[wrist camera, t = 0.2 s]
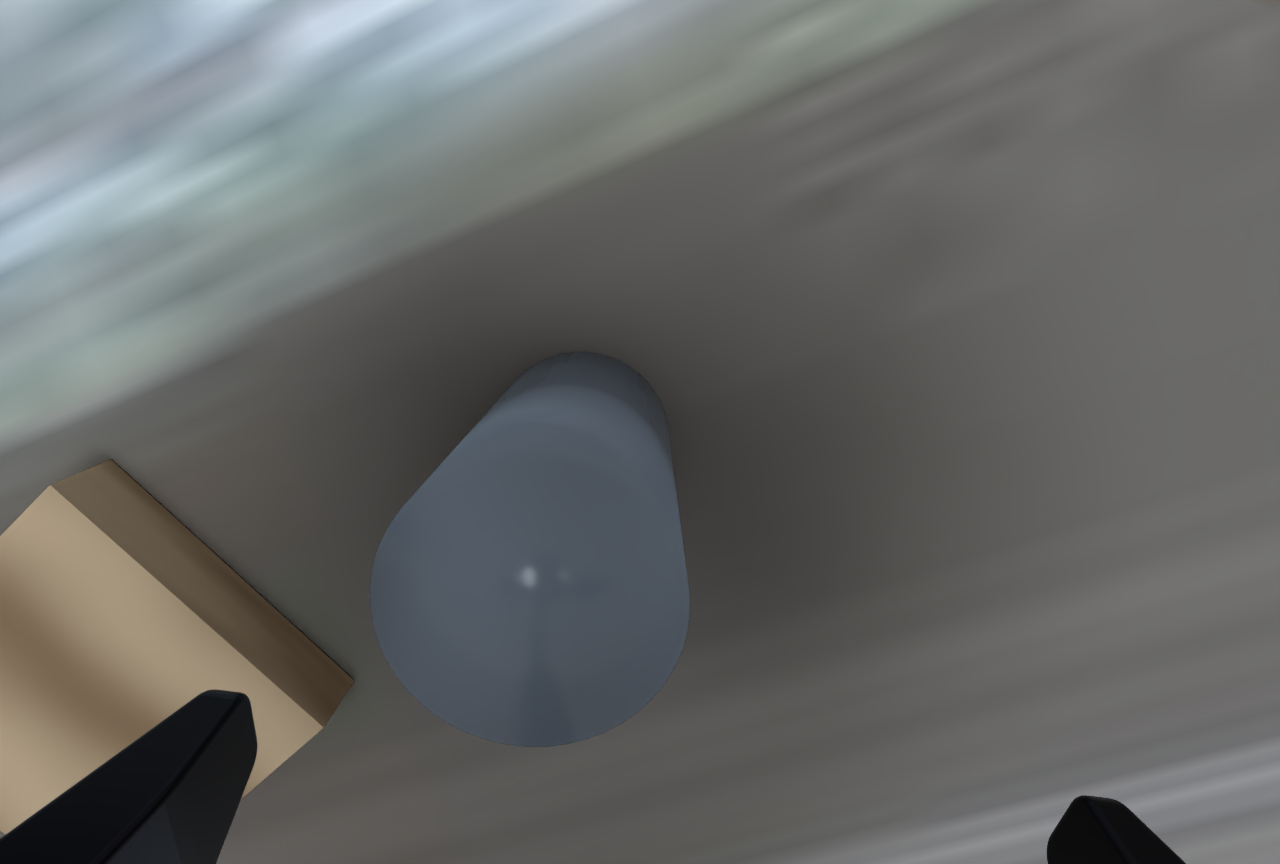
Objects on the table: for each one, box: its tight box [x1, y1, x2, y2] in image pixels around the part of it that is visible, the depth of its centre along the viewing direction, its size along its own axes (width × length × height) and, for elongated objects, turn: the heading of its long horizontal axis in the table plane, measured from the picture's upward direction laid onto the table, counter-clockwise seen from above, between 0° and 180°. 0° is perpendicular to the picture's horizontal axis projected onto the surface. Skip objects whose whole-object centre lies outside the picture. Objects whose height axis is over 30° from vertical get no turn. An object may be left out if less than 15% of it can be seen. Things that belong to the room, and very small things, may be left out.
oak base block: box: [0, 460, 354, 834], centre depth 24 cm, size 10×10×2 cm
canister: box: [370, 352, 690, 747], centre depth 18 cm, size 5×5×11 cm
